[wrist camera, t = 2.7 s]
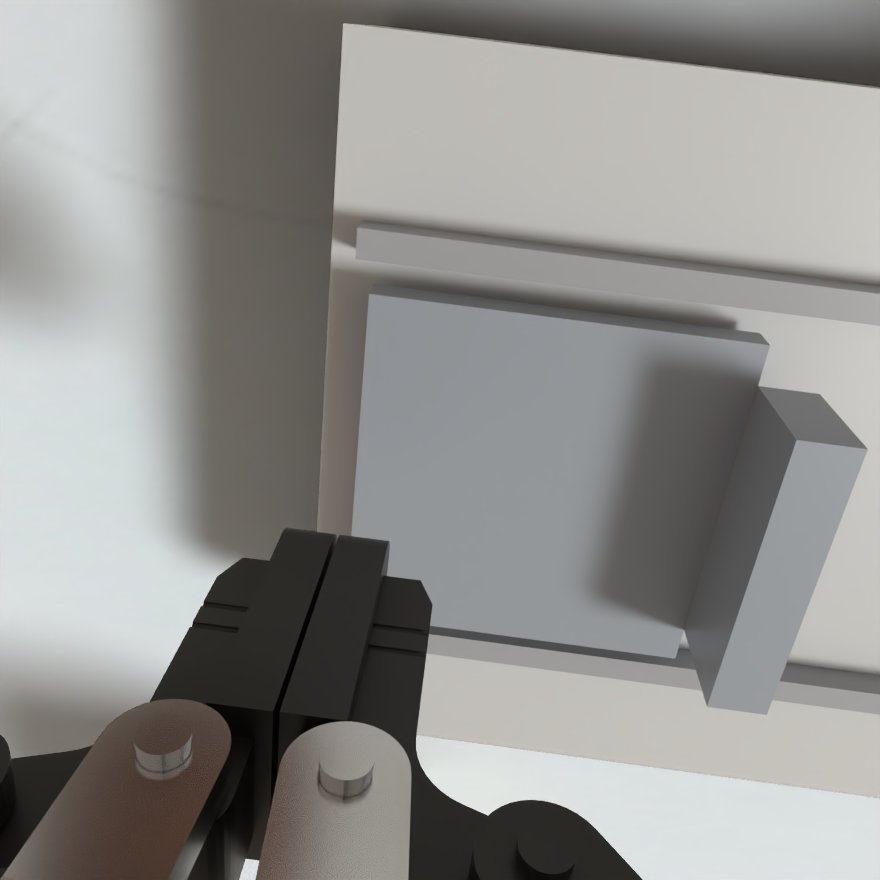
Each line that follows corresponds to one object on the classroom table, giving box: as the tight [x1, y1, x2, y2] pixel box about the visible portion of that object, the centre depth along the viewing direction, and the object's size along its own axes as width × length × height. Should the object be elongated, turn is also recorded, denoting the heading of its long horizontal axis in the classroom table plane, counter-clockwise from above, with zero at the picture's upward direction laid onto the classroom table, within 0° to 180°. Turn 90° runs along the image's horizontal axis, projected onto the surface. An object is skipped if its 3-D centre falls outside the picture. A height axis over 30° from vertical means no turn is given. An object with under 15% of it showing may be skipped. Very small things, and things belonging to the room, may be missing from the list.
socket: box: [317, 23, 880, 798], centre depth 17 cm, size 14×16×5 cm
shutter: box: [351, 284, 868, 715], centre depth 14 cm, size 6×7×3 cm
